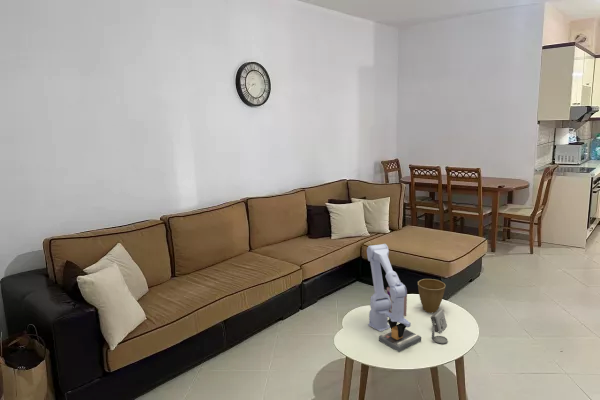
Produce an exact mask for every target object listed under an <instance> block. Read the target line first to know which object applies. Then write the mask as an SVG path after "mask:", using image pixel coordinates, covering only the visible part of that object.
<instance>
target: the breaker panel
mask: <svg viewBox="0 0 600 400" xmlns="http://www.w3.org/2000/svg"><path fill="white" fill-rule="evenodd" d="M391 334H392V331H391V330H389V331H388V332H385V333H383V334H381V335H379V336H378V342H380V343H382V344H384V345H386V346H387V347H389V348H391V349H393V350H395V351H396V352H398V353H400V352H402V351H404V350H406V349H409V348H410V347H413V346H414V345H417V344H418V343H421V342H422V336H421V335H419V334H417V333H414V332H413V331H410V330H409V329H407V328H405V330H404V333H403V338H400V339H398V340H396V339H394V338H392V337H391Z"/></svg>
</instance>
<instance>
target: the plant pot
mask: <svg viewBox="0 0 600 400" xmlns="http://www.w3.org/2000/svg"><path fill="white" fill-rule="evenodd" d="M417 289H418V295H419V301H420V304H421V306H422V309H423V311H424V312H426V313H428V314H434V313H435V312H436V311H439V308H440V307H441V306H440V305H441V304H442V300H443V298H444V294H445V291H446V284H445V283H444V282H442V281H441V280H439V279H434V278H433V279H432V278H423V279H420V280H418V281H417Z"/></svg>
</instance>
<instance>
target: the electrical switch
mask: <svg viewBox="0 0 600 400" xmlns="http://www.w3.org/2000/svg"><path fill="white" fill-rule="evenodd" d="M444 312H445V311H444V309H440V310H437V311H436V312H435V313H432V315H430V321H431V324H432V325H433V321H434V324H435V325H434V326H435V332H438V334H442V333H443V331H444V330H445V329H446V328H447V327H448V324H447V323H448V322H447V320H446V315H445V313H444ZM432 325H431V326H432Z"/></svg>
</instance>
